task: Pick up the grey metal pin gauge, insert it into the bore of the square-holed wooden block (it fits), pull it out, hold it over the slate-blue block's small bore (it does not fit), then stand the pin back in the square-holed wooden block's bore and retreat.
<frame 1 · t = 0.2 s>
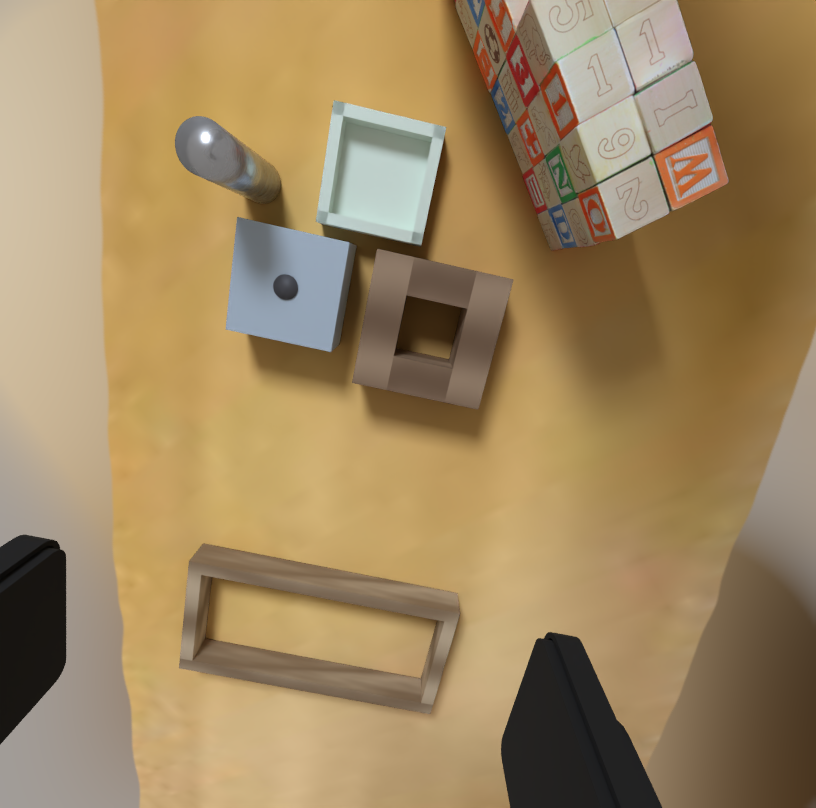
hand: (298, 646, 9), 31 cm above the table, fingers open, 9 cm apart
stack of blocks: (535, 95, 33), on the table
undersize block: (299, 285, 37), on the table
rectangular wooden corral frame: (321, 620, 46), on the table
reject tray: (381, 181, 35), on the table
pin gauge: (261, 182, 35), on the table
square-holed wooden block: (428, 326, 38), on the table
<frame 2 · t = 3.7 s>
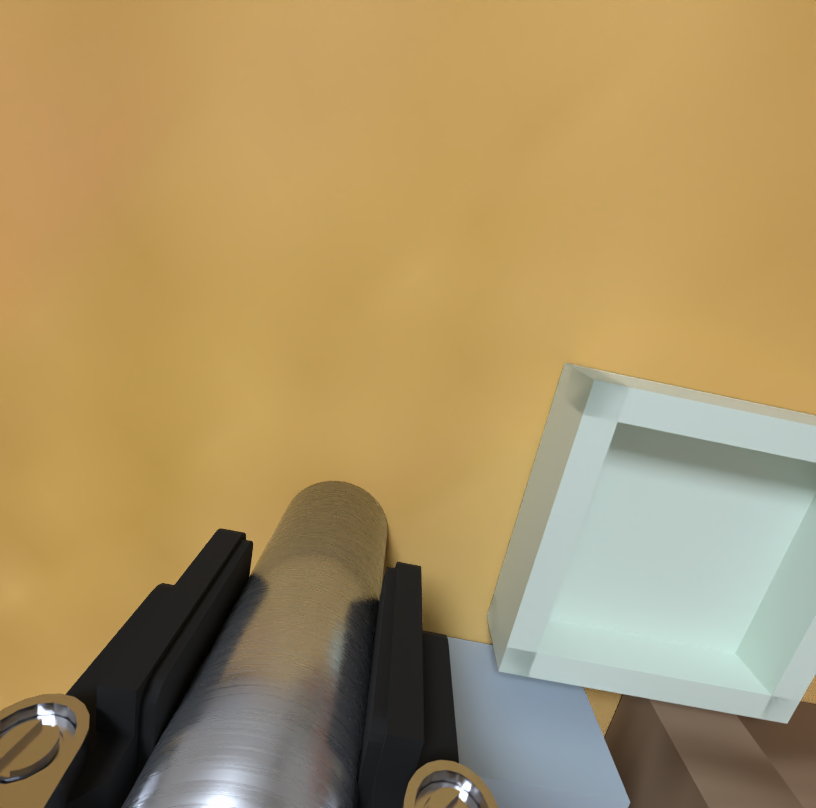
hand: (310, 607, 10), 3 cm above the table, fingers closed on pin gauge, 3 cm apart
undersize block: (420, 732, 15), on the table
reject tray: (658, 527, 13), on the table
pin gauge: (335, 528, 13), on the table, touching gripper
square-holed wooden block: (722, 807, 16), on the table
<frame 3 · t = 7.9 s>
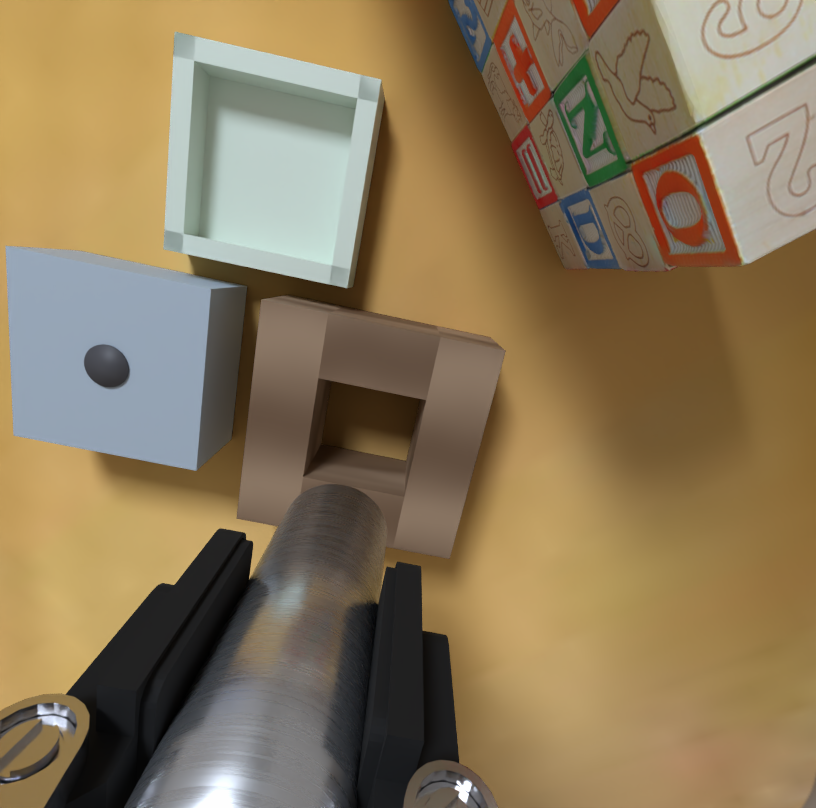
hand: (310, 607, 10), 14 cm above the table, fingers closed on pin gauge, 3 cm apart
stack of blocks: (527, 0, 19), on the table
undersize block: (159, 350, 23), on the table
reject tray: (280, 178, 20), on the table
pin gauge: (335, 531, 13), point 11 cm above the table, touching gripper
square-holed wooden block: (371, 412, 23), on the table
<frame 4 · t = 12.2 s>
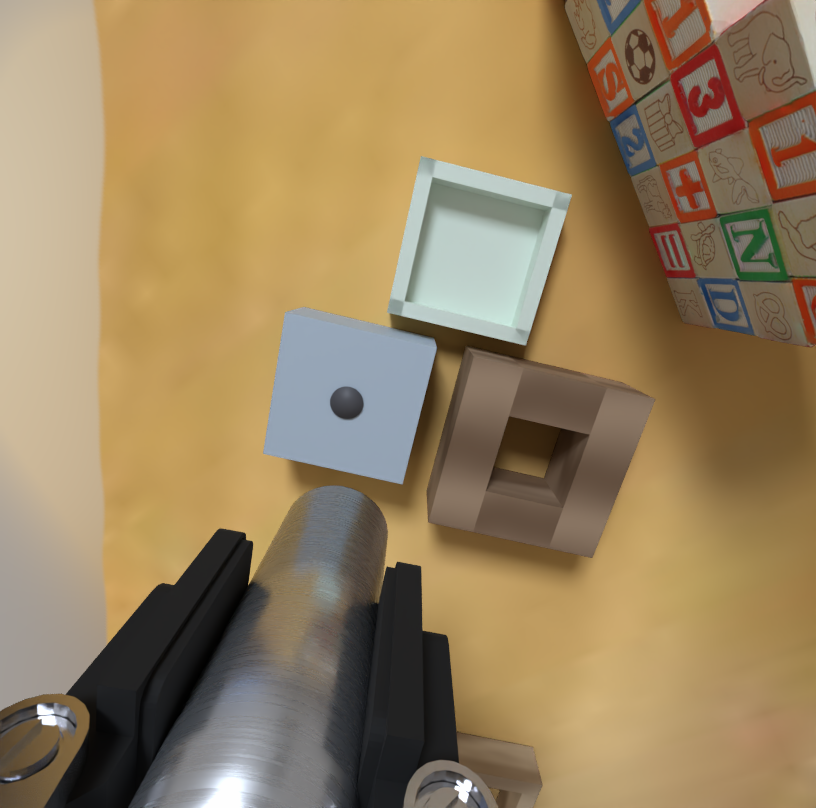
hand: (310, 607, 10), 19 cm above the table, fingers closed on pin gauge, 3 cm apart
stack of blocks: (668, 122, 24), on the table
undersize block: (356, 385, 28), on the table
rectangular wooden corral frame: (362, 773, 37), on the table
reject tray: (471, 257, 26), on the table
pin gauge: (336, 532, 13), point 16 cm above the table, touching gripper
square-holed wooden block: (520, 438, 29), on the table
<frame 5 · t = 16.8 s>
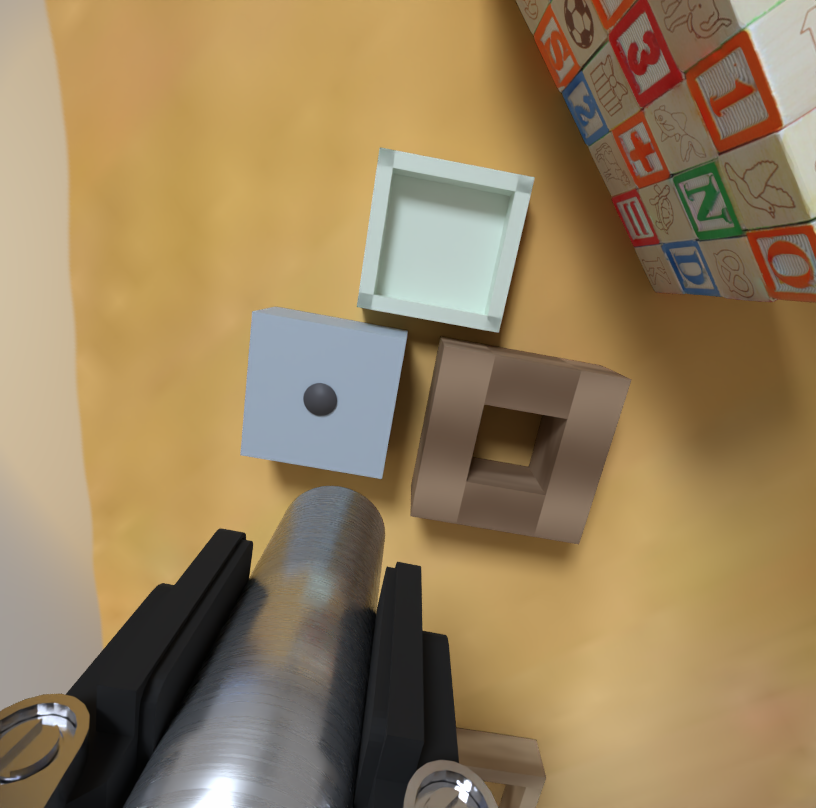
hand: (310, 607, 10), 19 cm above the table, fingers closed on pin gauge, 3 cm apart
stack of blocks: (622, 88, 24), on the table
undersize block: (333, 382, 28), on the table
rectangular wooden corral frame: (366, 773, 37), on the table
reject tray: (440, 247, 26), on the table
pin gauge: (333, 533, 13), point 16 cm above the table, touching gripper
square-holed wooden block: (502, 427, 29), on the table
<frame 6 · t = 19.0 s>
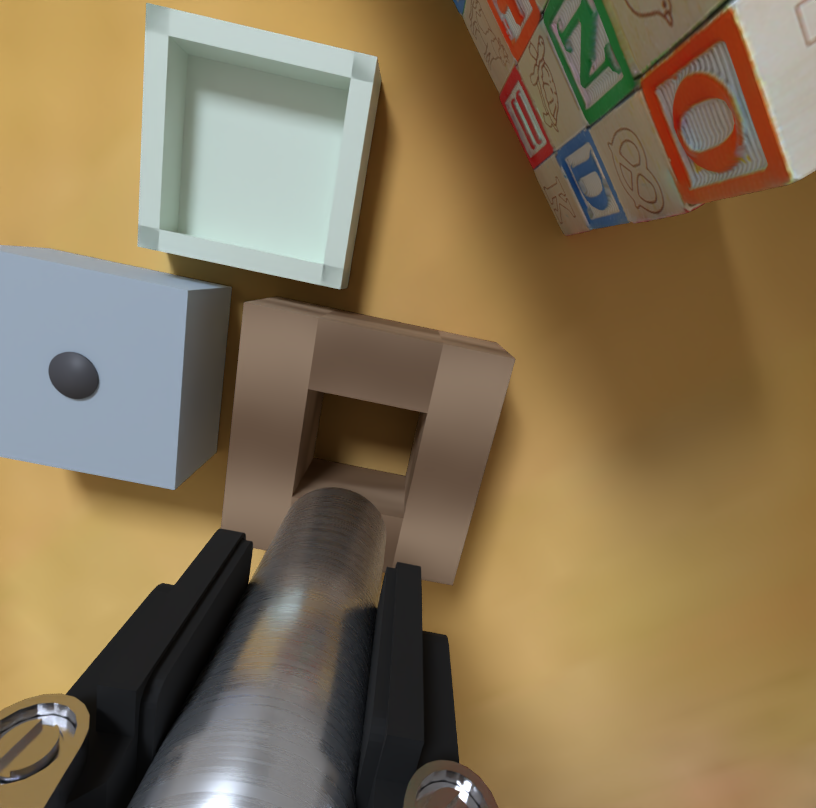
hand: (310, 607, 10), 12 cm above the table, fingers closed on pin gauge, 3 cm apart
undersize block: (137, 356, 21), on the table
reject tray: (267, 168, 19), on the table
pin gauge: (334, 534, 13), point 9 cm above the table, touching gripper
square-holed wooden block: (368, 423, 22), on the table
when the fingers open (5 cm above the table, at t = 20.9 s): pin gauge drops 2 cm, resting in square-holed wooden block.
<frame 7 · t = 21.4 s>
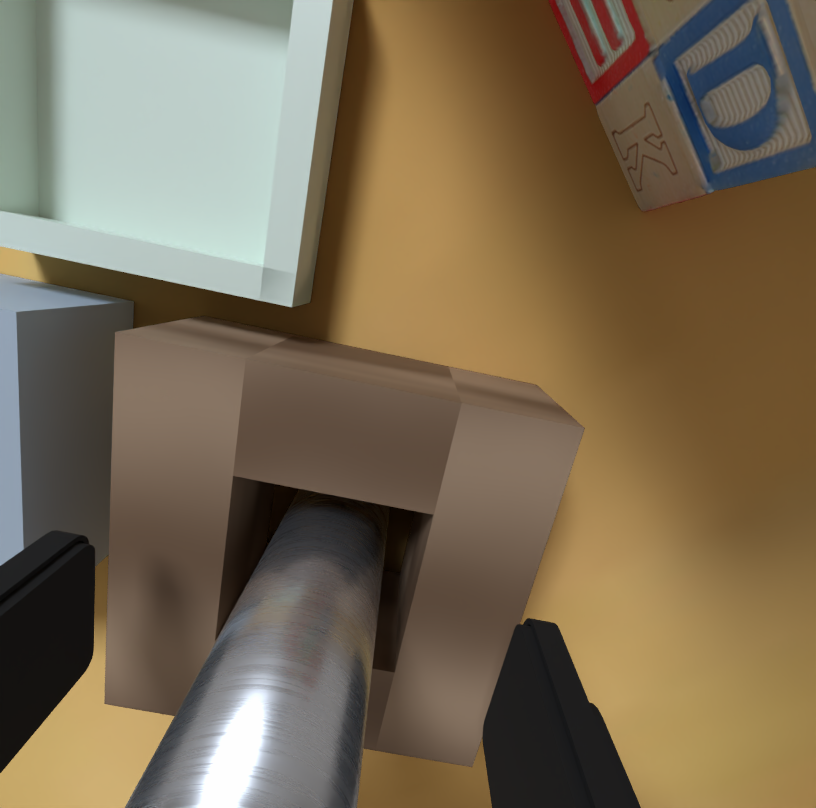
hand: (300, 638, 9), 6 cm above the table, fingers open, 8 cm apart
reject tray: (180, 116, 12), on the table
pin gauge: (343, 503, 15), resting in square-holed wooden block
square-holed wooden block: (344, 500, 15), on the table
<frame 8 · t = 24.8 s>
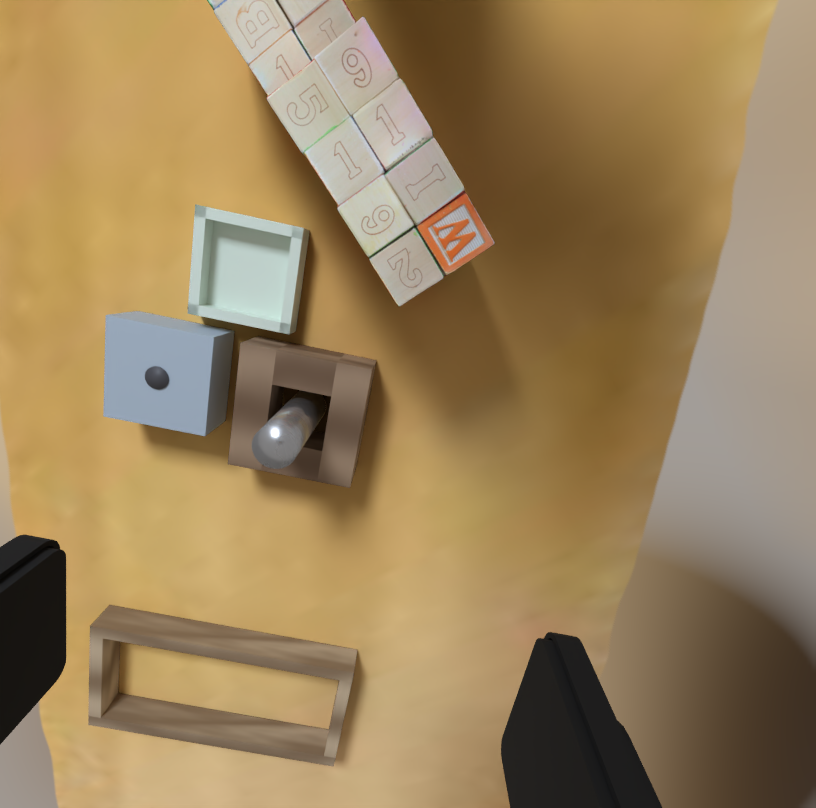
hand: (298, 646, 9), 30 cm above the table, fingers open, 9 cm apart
stack of blocks: (361, 153, 34), on the table
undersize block: (183, 367, 38), on the table
rectangular wooden corral frame: (228, 675, 47), on the table
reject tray: (253, 272, 36), on the table
pin gauge: (309, 405, 39), resting in square-holed wooden block
square-holed wooden block: (309, 404, 39), on the table
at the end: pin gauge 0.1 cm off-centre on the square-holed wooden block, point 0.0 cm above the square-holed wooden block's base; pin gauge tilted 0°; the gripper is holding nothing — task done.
